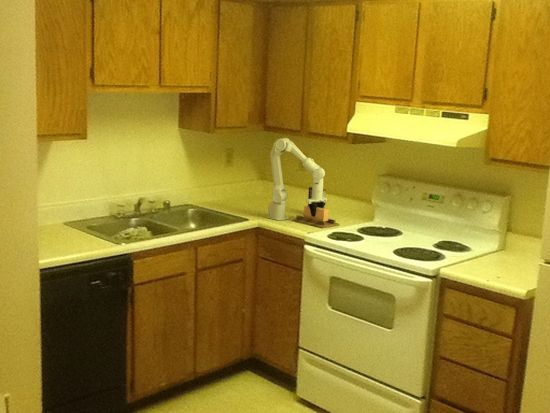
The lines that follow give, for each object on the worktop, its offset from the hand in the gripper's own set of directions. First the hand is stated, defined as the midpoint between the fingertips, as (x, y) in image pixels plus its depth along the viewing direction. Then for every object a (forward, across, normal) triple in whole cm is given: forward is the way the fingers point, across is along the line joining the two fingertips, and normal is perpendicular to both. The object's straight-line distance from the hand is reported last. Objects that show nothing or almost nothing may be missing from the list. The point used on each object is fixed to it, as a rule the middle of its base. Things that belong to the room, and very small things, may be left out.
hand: (315, 215), depth 382 cm
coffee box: (+4, +15, +13) cm, 20 cm away
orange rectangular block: (+2, 0, 0) cm, 2 cm away
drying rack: (+4, 0, 0) cm, 4 cm away
